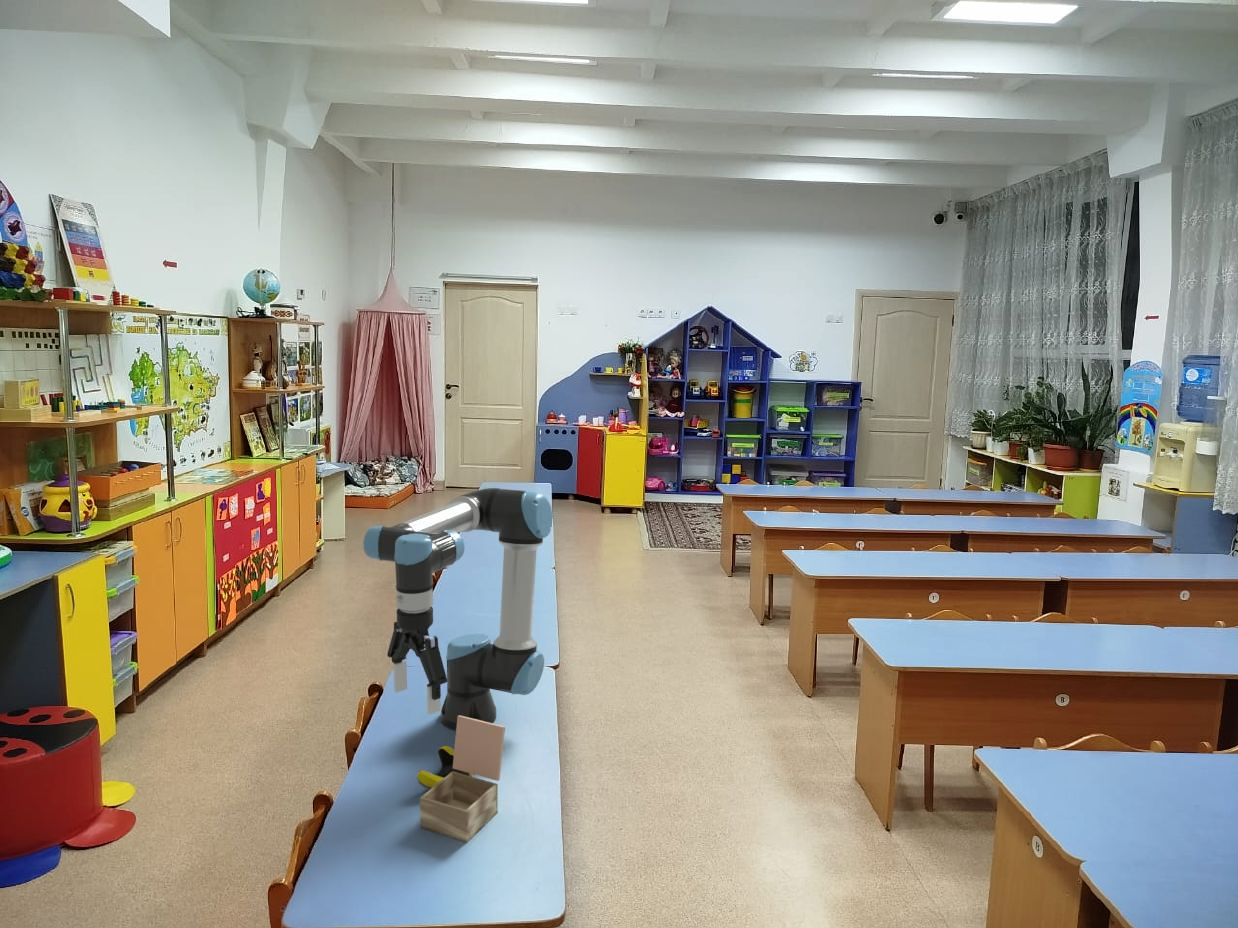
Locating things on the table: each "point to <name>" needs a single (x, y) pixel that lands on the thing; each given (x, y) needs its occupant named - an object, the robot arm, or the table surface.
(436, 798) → the box
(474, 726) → the lid
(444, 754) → the gaming controller
